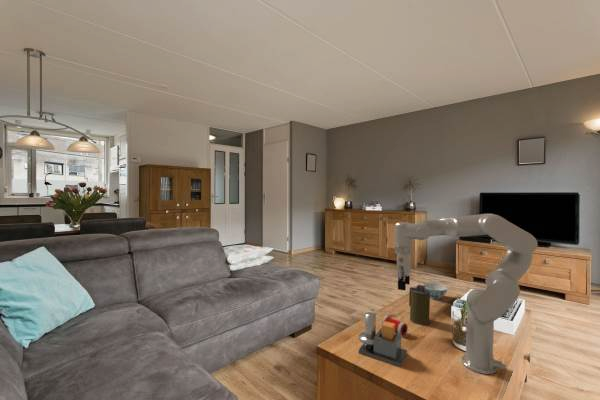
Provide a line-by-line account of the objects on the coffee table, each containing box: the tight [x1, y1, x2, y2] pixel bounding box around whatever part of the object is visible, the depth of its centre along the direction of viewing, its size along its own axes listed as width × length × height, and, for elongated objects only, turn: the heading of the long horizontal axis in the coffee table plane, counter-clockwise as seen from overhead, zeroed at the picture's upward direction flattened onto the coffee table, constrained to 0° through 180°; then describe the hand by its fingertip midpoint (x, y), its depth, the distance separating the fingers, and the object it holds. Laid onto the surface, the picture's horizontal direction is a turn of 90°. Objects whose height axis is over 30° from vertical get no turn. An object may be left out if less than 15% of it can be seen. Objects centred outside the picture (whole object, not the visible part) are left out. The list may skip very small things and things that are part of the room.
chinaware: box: [423, 282, 448, 300], centre depth 199 cm, size 15×15×8 cm
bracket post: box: [358, 311, 408, 368], centre depth 128 cm, size 20×12×16 cm, turn 57°
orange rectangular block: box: [381, 321, 396, 341], centre depth 127 cm, size 4×4×12 cm
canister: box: [408, 284, 431, 326], centre depth 162 cm, size 11×10×20 cm
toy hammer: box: [381, 314, 408, 337], centre depth 144 cm, size 23×12×6 cm, turn 126°
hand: (403, 286), depth 131 cm, fingers open, 9 cm apart
